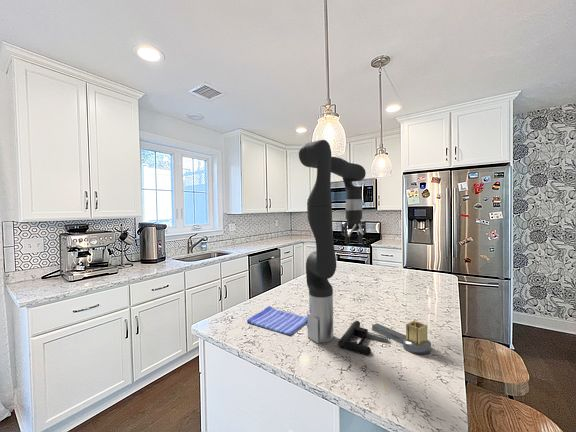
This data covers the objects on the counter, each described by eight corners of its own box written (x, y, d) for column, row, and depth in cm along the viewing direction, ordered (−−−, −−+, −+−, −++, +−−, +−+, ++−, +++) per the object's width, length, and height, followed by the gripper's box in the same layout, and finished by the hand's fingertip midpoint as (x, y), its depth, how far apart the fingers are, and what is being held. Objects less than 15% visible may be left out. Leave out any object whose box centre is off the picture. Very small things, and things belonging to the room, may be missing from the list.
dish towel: (268, 310, 132) (268, 305, 132) (311, 321, 119) (310, 315, 119) (245, 323, 118) (245, 317, 118) (290, 337, 105) (290, 330, 105)
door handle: (391, 329, 105) (351, 318, 113) (380, 354, 88) (334, 339, 96) (390, 337, 105) (351, 326, 113) (379, 363, 88) (333, 348, 96)
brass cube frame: (419, 346, 91) (419, 329, 91) (406, 340, 95) (406, 324, 95) (427, 342, 94) (427, 325, 94) (414, 336, 98) (414, 320, 98)
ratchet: (422, 358, 88) (422, 337, 88) (367, 332, 107) (367, 315, 107) (436, 349, 94) (436, 329, 93) (381, 326, 112) (381, 309, 112)
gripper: (357, 208, 131) (358, 241, 132) (337, 209, 123) (337, 244, 124) (370, 208, 125) (370, 243, 126) (349, 209, 117) (349, 246, 118)
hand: (354, 243), depth 125 cm, fingers open, 8 cm apart
